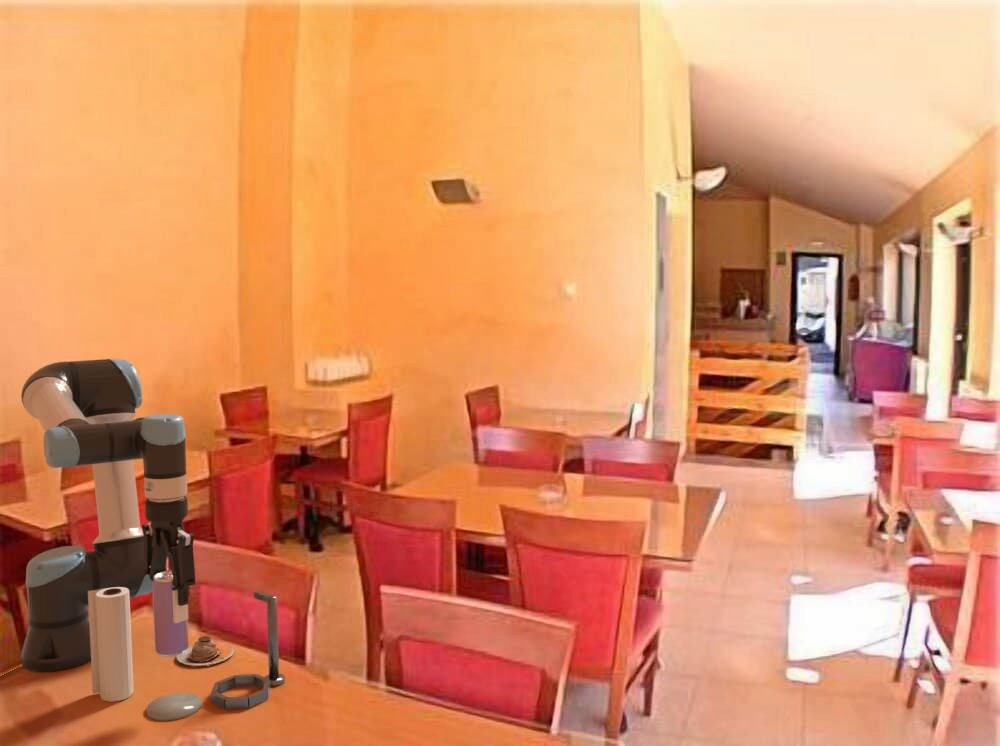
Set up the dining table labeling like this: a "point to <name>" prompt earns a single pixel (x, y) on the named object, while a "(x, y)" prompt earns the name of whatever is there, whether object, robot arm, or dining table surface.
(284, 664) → the dining table surface
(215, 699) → the stand
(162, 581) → the beverage can
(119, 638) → the paper towel roll
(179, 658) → the pastry
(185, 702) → the coaster
